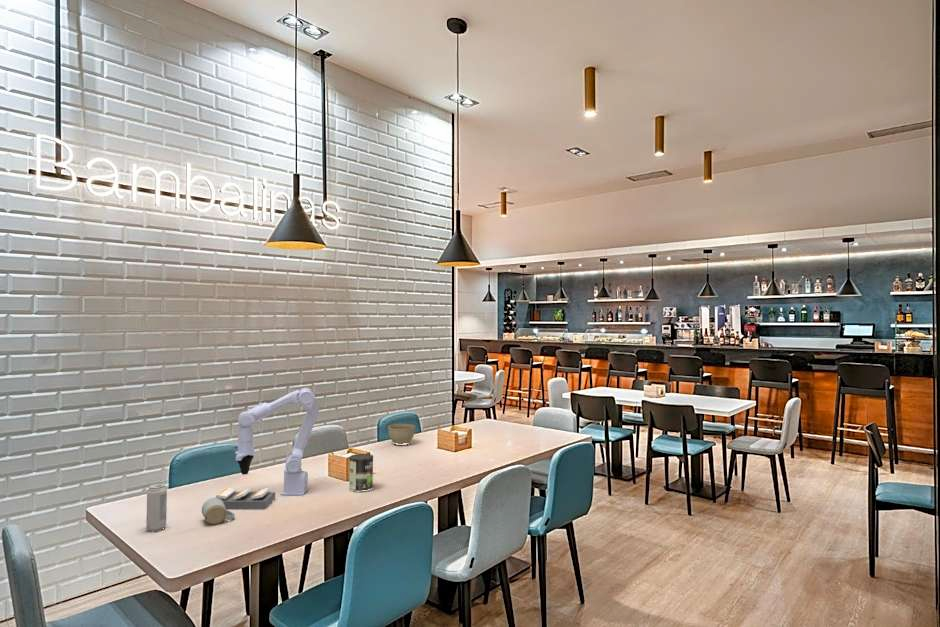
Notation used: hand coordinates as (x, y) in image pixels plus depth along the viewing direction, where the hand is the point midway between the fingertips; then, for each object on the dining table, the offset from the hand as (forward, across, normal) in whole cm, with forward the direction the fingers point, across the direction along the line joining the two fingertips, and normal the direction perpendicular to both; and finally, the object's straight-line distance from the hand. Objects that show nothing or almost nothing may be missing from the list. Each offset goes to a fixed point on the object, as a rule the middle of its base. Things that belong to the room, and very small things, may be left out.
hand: (244, 474), depth 226 cm
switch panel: (+9, +9, +3) cm, 13 cm away
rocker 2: (+6, +9, +10) cm, 15 cm away
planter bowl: (+10, -98, +55) cm, 113 cm away
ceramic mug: (+10, +27, +1) cm, 29 cm away
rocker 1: (+6, +9, -4) cm, 11 cm away
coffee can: (+10, -11, +46) cm, 48 cm away
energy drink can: (+10, +35, -17) cm, 40 cm away
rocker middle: (+6, +9, +3) cm, 11 cm away
